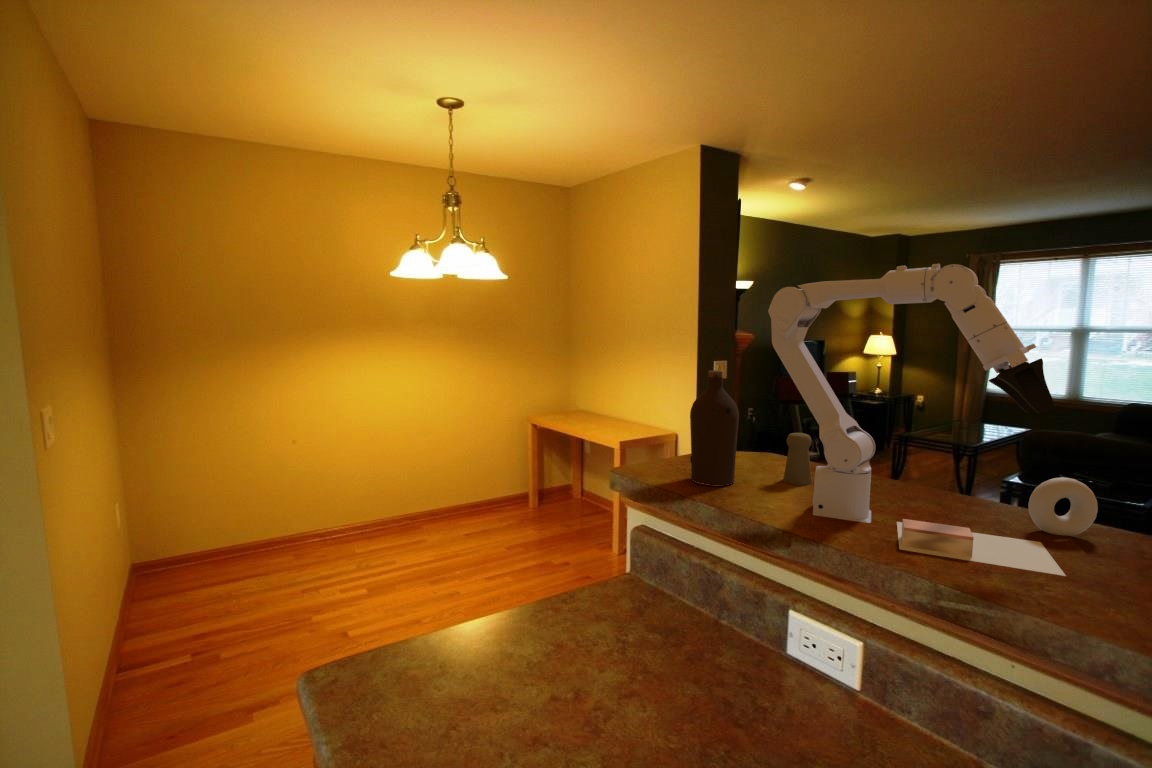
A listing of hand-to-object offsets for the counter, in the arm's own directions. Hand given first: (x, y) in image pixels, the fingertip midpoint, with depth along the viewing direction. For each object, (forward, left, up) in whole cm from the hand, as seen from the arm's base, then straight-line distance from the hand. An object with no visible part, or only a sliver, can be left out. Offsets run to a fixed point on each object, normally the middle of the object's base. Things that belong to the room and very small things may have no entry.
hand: (1040, 410), depth 84 cm
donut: (+6, +12, -23) cm, 27 cm away
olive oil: (-54, +18, -23) cm, 61 cm away
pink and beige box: (-13, -5, -22) cm, 25 cm away
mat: (-8, -2, -22) cm, 24 cm away
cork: (-37, +27, -23) cm, 51 cm away
